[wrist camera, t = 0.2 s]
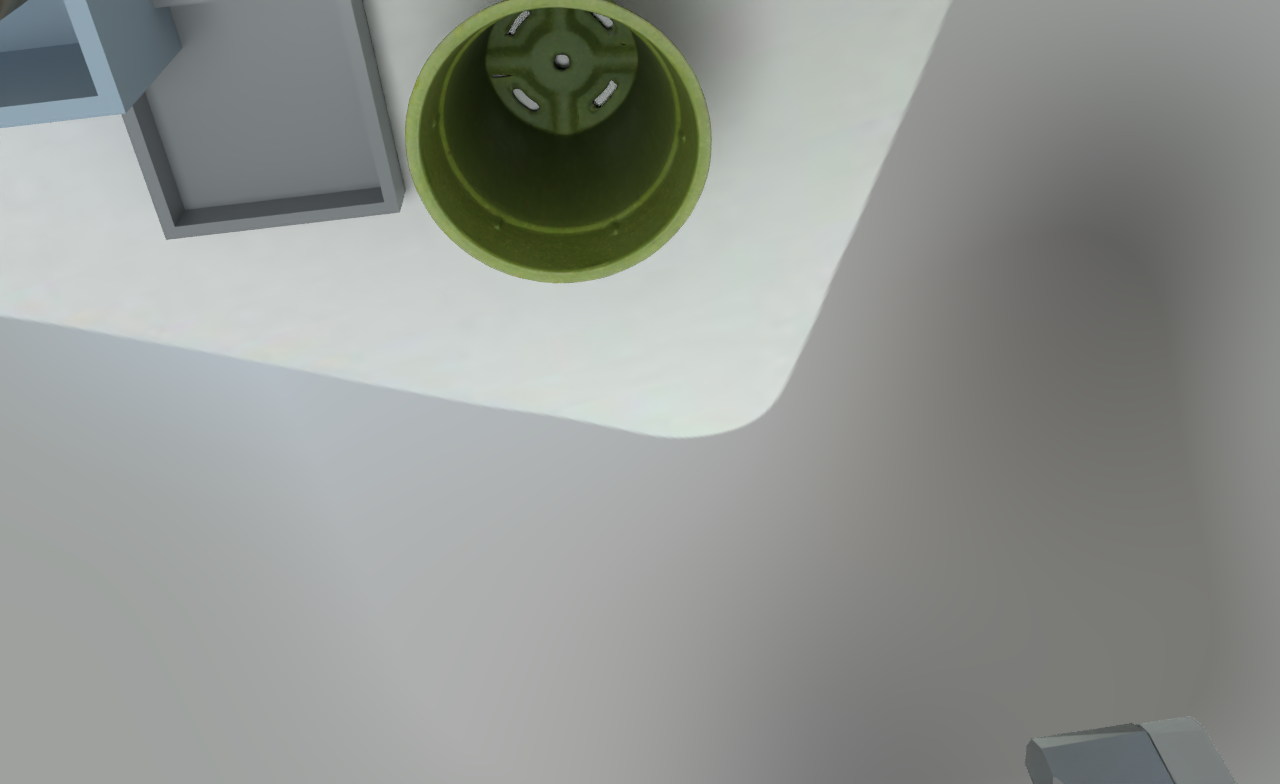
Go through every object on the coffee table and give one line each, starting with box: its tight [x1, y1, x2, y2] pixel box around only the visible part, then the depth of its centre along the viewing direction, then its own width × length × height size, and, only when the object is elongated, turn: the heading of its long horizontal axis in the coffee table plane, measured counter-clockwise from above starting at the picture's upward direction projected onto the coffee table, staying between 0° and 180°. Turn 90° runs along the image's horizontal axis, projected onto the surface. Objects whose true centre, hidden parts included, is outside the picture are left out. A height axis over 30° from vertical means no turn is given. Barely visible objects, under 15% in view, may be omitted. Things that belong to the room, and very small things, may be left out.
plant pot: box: [405, 0, 712, 283], centre depth 50 cm, size 12×12×11 cm
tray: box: [122, 0, 405, 240], centre depth 54 cm, size 11×11×2 cm
